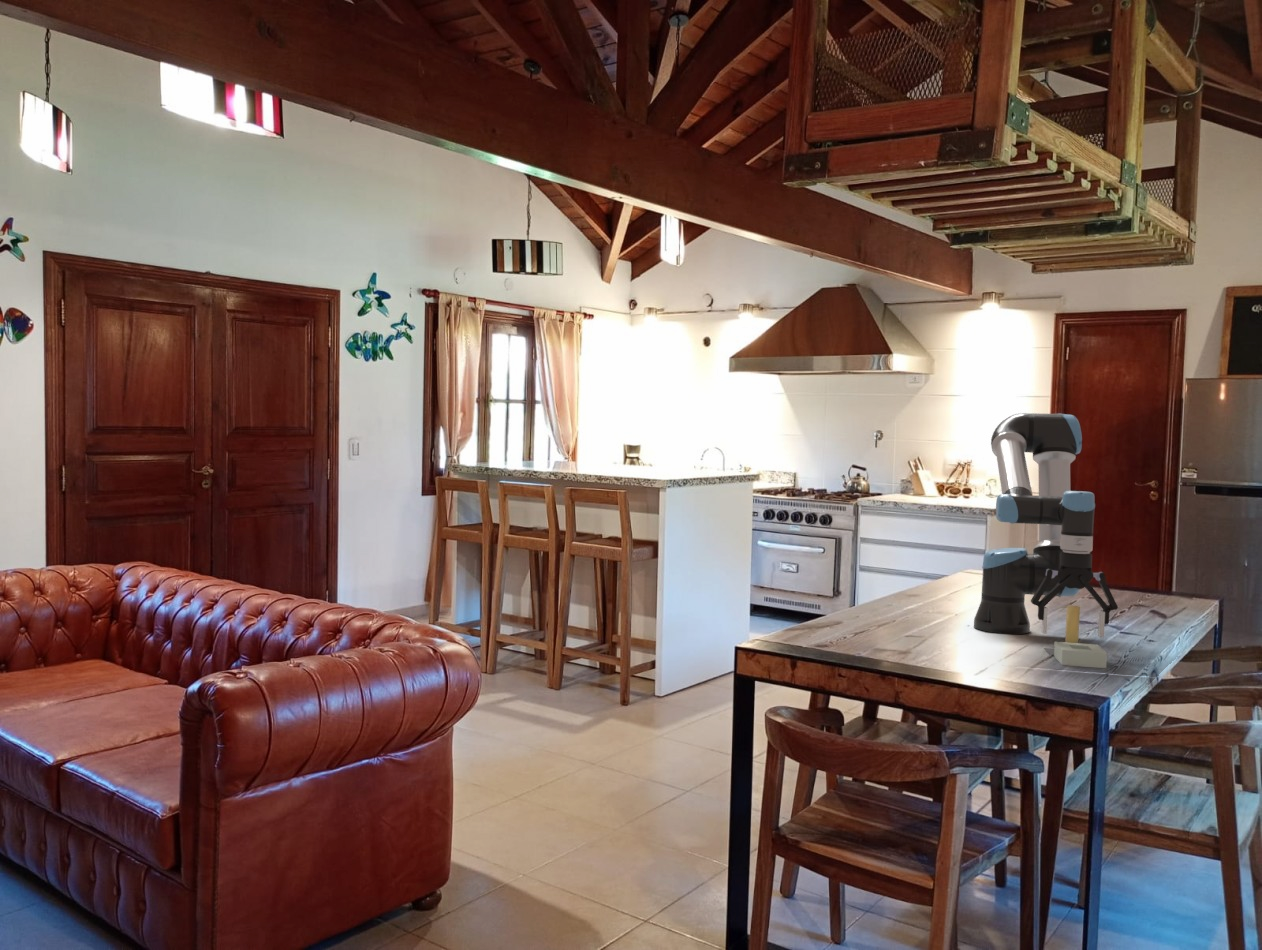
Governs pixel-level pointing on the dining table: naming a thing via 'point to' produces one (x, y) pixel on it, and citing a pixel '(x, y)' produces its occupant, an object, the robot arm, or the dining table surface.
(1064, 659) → the hole block
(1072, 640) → the peg
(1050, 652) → the mat
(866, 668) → the dining table surface
